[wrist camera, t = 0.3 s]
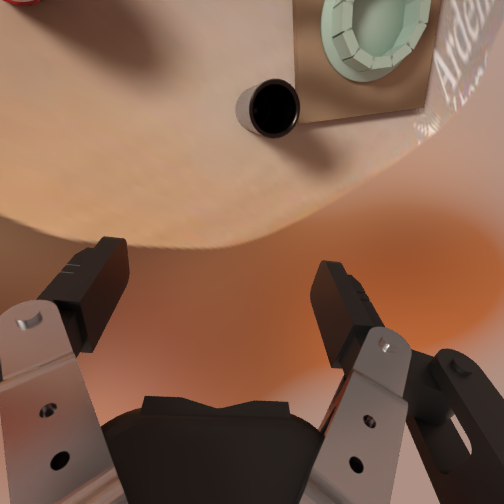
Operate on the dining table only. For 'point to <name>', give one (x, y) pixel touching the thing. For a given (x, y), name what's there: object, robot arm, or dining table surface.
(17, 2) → the soda can
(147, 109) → the dining table surface
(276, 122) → the grey hollow cylinder
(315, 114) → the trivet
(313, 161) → the dining table surface
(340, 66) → the holder
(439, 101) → the dining table surface
